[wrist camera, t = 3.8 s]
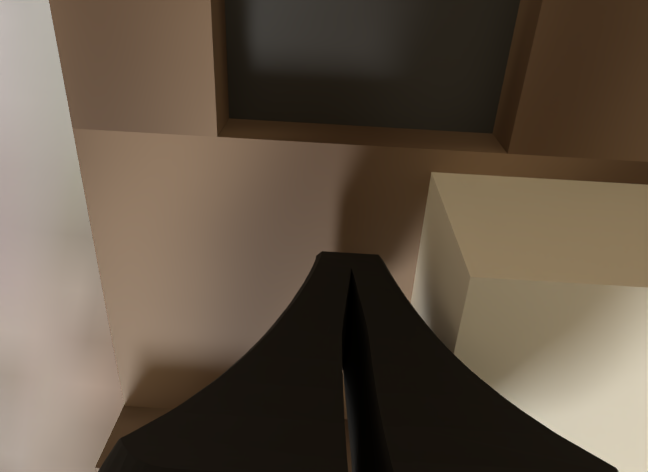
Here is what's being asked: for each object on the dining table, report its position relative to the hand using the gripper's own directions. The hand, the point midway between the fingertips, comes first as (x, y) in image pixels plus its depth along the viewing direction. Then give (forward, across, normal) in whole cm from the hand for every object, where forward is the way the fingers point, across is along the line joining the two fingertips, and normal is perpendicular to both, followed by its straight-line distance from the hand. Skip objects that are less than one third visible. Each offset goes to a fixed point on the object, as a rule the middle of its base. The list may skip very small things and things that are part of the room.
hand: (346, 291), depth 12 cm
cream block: (+1, -4, 0) cm, 4 cm away
